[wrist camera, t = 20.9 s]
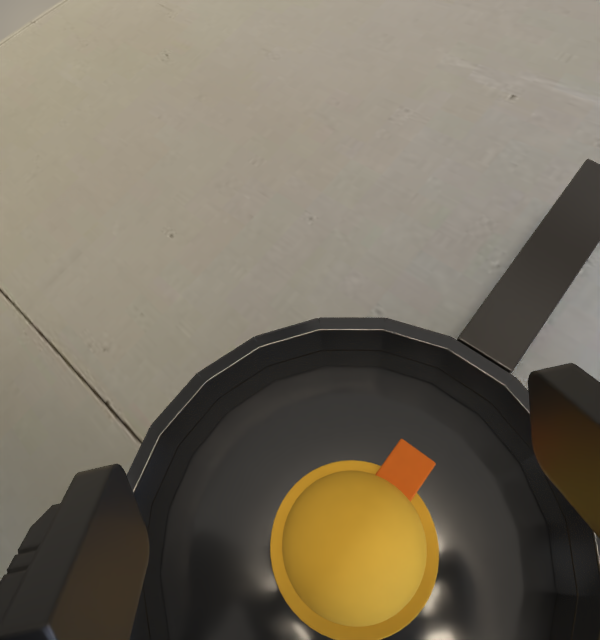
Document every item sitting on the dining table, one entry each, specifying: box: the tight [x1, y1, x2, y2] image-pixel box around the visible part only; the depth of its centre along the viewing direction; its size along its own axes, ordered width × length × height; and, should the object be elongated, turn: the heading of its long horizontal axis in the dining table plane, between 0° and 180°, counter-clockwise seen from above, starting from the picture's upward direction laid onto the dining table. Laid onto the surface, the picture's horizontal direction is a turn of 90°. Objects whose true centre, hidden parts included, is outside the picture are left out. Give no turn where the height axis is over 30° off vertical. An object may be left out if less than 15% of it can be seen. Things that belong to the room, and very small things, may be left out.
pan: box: [127, 318, 600, 640], centre depth 21 cm, size 17×17×5 cm
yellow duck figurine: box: [270, 439, 439, 640], centre depth 18 cm, size 6×5×10 cm
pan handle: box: [457, 159, 600, 374], centre depth 23 cm, size 11×2×1 cm, turn 142°
